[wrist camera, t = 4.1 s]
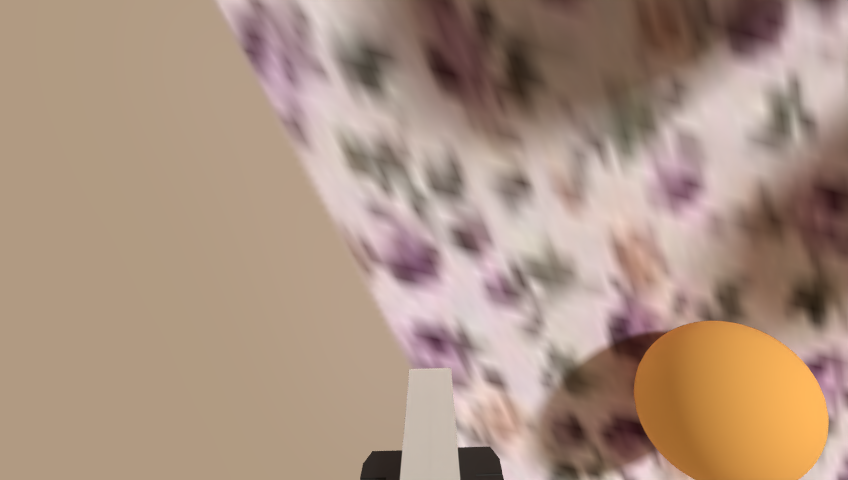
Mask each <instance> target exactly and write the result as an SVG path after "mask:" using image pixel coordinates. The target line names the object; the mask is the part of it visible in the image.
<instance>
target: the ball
mask: <svg viewBox="0 0 848 480" xmlns="http://www.w3.org/2000/svg"><path fill="white" fill-rule="evenodd" d="M634 398H635V405H636V410H637V413H638V417H639V419H640V422H641V425H642V427H643V429H644V431H645V432H646V434H647V436H648V438H649V439H650V441H651V442H652V443H653V445H654V446H655V447H656V448H657V450H658V451H659V452H660V453H661V454H662V455H663V456H664V457H665V458H666V459H667V460H668V461H669V462H670V463H671V464H672V465H674V466H675V467H676V468H678V469H679V470H680V471H682V472H683V473H685V474H686V475H688V476H690V477H692V478H693V479H695V480H798V479H800V478H801V477H802V476H804V475H805V474H806V473H807V472H808V471H809V470H810V469H811V468H812V467H813V466H814V464H815V463H816V462H817V460H818V458H819V457H820V455H821V453H822V451H823V449H824V446H825V443H826V440H827V434H828V424H829V423H828V412H827V407H826V402H825V398H824V396H823V393H822V391H821V388H820V386H819V384H818V382H817V380H816V379H815V377H814V375H813V374H812V373H811V371H810V370H809V368H808V367H807V366H806V365H805V363H804V362H803V361H802V360H801V359H800V358H799V357H798V356H797V355H796V354H795V353H794V352H793V351H791V350H790V349H789V348H788V347H787V346H785V345H784V344H782V343H781V342H780V341H778V340H776V339H775V338H773V337H771V336H769V335H768V334H766V333H764V332H761V331H759V330H757V329H754V328H751V327H748V326H745V325H741V324H738V323H731V322H725V321H701V322H694V323H690V324H686V325H683V326H680V327H678V328H675V329H673V330H671V331H669V332H667V333H666V334H664V335H663V336H661V337H660V338H659V339H657V340H656V341H655V342H654V343H653V344H652V345H651V346H650V348H649V349H648V350H647V351H646V353H645V354H644V356H643V358H642V360H641V362H640V364H639V366H638V369H637V372H636V376H635V383H634Z"/></svg>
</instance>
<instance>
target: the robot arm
mask: <svg viewBox="0 0 848 480" xmlns="http://www.w3.org/2000/svg"><path fill="white" fill-rule="evenodd" d="M360 480H504V479H503V475H502V469H501V464H500V459H499V458H498V456H497V455H496V454H495V453H494V451H493V450H492V449H491V448H490V447H464V448H458V447H457V435H456V423H455V410H454V398H453V386H452V374H451V368H434V369H410V370H409V381H408V392H407V404H406V415H405V426H404V438H403V449H402V451H372V453H371V454H370V455H369V457H368V458H367V460H366V461H365V462H364V463H363V468H362V472H361V477H360Z"/></svg>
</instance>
